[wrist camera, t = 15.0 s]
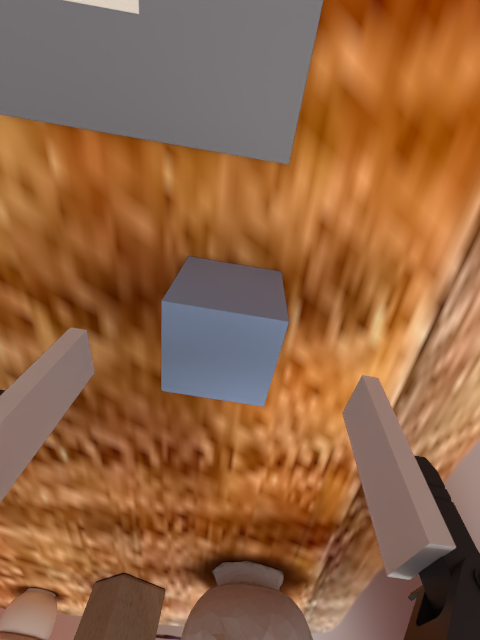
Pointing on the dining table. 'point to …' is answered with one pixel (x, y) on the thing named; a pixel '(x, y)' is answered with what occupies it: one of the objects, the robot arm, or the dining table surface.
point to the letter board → (162, 69)
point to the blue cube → (222, 331)
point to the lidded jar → (29, 616)
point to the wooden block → (121, 610)
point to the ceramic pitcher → (246, 607)
